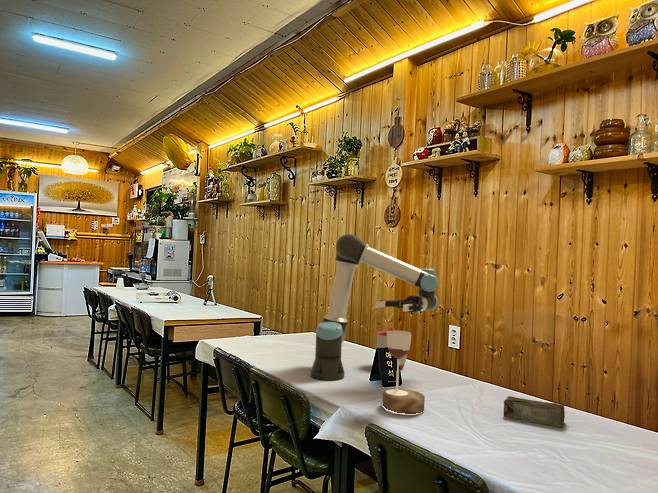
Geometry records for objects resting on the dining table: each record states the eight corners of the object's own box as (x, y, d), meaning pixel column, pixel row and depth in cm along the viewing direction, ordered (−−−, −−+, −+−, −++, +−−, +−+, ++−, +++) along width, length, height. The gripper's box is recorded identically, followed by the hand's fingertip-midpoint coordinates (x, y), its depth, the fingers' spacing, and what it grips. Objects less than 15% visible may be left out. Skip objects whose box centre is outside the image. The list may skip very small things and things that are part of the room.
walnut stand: (389, 416, 168) (389, 401, 168) (377, 402, 183) (377, 389, 183) (430, 415, 170) (431, 401, 170) (415, 402, 185) (416, 388, 185)
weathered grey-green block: (507, 411, 179) (507, 393, 179) (564, 422, 169) (565, 403, 169) (502, 417, 172) (503, 398, 172) (562, 429, 162) (563, 409, 162)
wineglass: (413, 392, 180) (415, 332, 181) (401, 397, 173) (403, 335, 173) (392, 387, 186) (394, 329, 186) (380, 392, 178) (382, 332, 178)
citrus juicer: (398, 374, 227) (399, 331, 228) (368, 367, 239) (370, 326, 239) (416, 368, 239) (417, 328, 239) (387, 362, 251) (388, 323, 251)
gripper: (440, 315, 211) (415, 319, 194) (391, 309, 227) (364, 312, 211) (441, 297, 211) (416, 300, 195) (392, 292, 227) (365, 294, 211)
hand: (389, 306), depth 203 cm, fingers open, 13 cm apart
